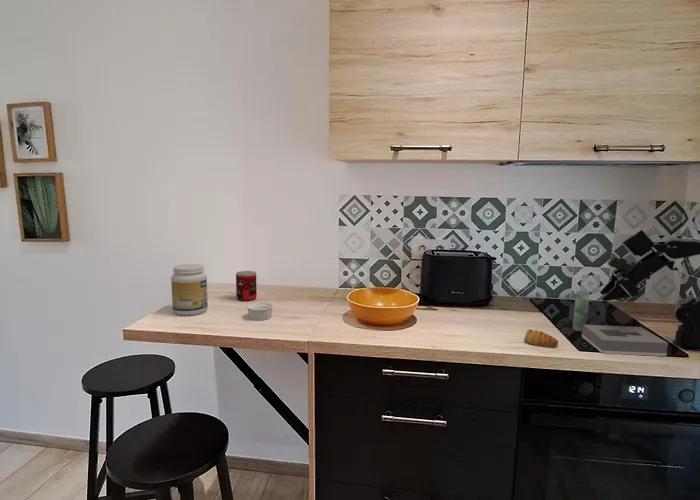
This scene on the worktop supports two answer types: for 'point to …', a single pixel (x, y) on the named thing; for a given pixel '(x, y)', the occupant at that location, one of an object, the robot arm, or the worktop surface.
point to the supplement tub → (189, 289)
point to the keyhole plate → (624, 340)
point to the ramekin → (260, 311)
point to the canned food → (246, 286)
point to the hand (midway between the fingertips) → (601, 296)
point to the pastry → (540, 339)
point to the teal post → (580, 310)
